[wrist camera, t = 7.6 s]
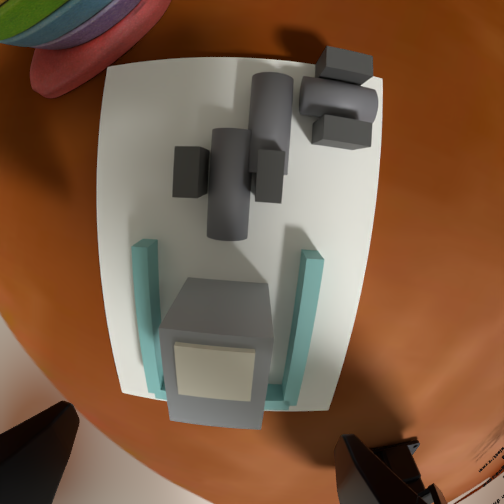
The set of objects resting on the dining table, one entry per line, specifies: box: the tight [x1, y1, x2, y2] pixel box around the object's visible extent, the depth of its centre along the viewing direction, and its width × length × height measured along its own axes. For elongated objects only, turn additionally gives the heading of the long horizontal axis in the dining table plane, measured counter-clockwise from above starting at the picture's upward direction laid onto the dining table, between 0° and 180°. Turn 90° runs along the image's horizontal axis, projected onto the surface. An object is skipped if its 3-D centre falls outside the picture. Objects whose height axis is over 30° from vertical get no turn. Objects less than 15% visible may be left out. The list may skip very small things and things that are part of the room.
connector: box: [159, 277, 274, 430], centre depth 13 cm, size 5×4×5 cm
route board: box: [97, 46, 383, 411], centre depth 13 cm, size 20×14×3 cm
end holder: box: [131, 239, 324, 410], centre depth 14 cm, size 9×9×2 cm
